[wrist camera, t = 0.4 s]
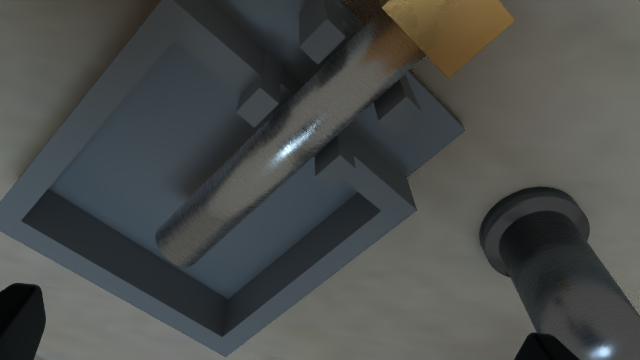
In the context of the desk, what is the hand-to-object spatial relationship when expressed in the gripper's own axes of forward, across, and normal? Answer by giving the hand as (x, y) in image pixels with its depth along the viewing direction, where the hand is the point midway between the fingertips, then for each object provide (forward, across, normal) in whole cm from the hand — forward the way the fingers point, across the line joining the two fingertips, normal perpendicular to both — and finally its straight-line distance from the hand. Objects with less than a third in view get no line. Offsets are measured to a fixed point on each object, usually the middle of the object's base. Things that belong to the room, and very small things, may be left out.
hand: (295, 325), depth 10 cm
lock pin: (+11, 0, +1) cm, 11 cm away
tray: (+13, +2, +4) cm, 14 cm away
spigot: (+13, -12, +6) cm, 19 cm away
